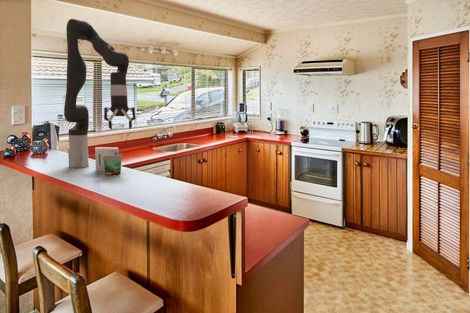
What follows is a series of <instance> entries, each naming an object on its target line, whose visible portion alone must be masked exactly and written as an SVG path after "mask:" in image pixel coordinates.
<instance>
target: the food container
mask: <svg viewBox="0 0 470 313" xmlns="http://www.w3.org/2000/svg"><path fill="white" fill-rule="evenodd" d="M122 159H123V155H122V153H121V152H118V153H116V154H115V155H109V156H103V160H104V169H105V171H104V176H105V177H114V176H113V175H116V176H119V174H120V175H121V174H122Z"/></svg>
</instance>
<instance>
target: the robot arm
mask: <svg viewBox="0 0 470 313" xmlns="http://www.w3.org/2000/svg"><path fill="white" fill-rule="evenodd" d="M65 32H66V45H67V46H66V47H67V55H66V56H67V60H66V63H67V64H66V88H65V89H66V90H65V98H64V99H65V100H64V107H63V117H64V119H65V121H66V122H68V123H75V125H74V126H73V127H71V128H69V129H68V148H69V149H68V150H67V152H68V153H67V156H68V168H75V169H80V168H87V167H89V166H90V164H89V142H88V141H89V140H88V139H89V138H88V131H89V125H90V123H89V121H90V120H89V118H90V117H89V116H90V114H89V113H90V112H89V110H88V107H87V106H86V105H85V104H77V99H78V95H79V94H80V91H81V90H82V88H83V86H84V85H85V83H86V81H87V68H88V67H87V65H86V62H85V60H84V58H83V56H82V55H81V52H80V48H79V41H87V42H89V43H91V45H92V48H93V50H94V51H95V53H97V54H98V55H99V56H101V57H102V59H103V61H104V62H105V64H106V65H108V66H111V67H115V68H117V69H116V71H114V72H113V71H112V72H111V73H110V75H109V76H110V107H107V106H106V107H104V108H103V109H104V110H103V112H104V113H103V114H104V115H103V119H104V121H107V122H108V129H109V130H113V121H112V120H113V118H114V117H126V118H127V120H128V129H129V130H130V129H131V128H133V121H134V120H136V110H135V107H129V104H128V88H127V74H128V70H129V65H130V59H129V56H128V54H127V53H125V52H123V51H117V50H116V49H115V47H114V46H113V45H111V44H110V43H109V42H108V41H107V40H106V39H104V38H103V37H102V36H101V35H100V34H99V33H98V32H97V31H96V29H95V28H94V27H93V26H92V25H91V23H89V22H88V21H84V20H80V19H75V18H70V19H68V21H67V23H66V31H65ZM129 111H130V112H131V113H132V117H130V116H129V113H128V112H129ZM109 112H111V113H112V114H111V115H110V117H108V113H109Z"/></svg>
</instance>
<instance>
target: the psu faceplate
mask: <svg viewBox="0 0 470 313" xmlns="http://www.w3.org/2000/svg"><path fill="white" fill-rule="evenodd" d="M94 150H95V172H105V169H104V160H103V156H109V155H115V154H116V153H119V147H101V146H99V147H97V146H96V147H95V148H94Z"/></svg>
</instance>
